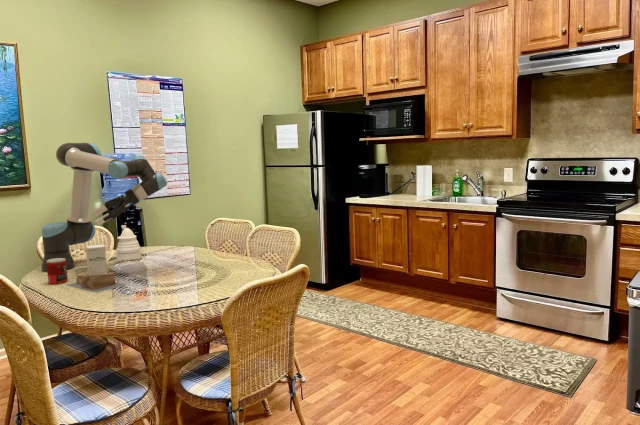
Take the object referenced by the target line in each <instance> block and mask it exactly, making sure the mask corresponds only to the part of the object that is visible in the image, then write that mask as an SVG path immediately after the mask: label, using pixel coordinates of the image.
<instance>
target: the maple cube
mask: <svg viewBox="0 0 640 425" xmlns="http://www.w3.org/2000/svg"><path fill="white" fill-rule="evenodd" d="M84 274H88V272H87V273H86V272H83V273H78V274H75V278H76V280H75V281H76V282H77V284H81V279H80V275H84Z"/></svg>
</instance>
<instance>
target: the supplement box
mask: <svg viewBox="0 0 640 425" xmlns="http://www.w3.org/2000/svg"><path fill="white" fill-rule="evenodd" d="M85 250H86V253H85V254H86V264H87V273H88V274H89V277H91V276H99V275H107V272H108V267H107V252H106V245H105V244H92V245H85Z"/></svg>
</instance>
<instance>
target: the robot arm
mask: <svg viewBox="0 0 640 425" xmlns="http://www.w3.org/2000/svg"><path fill="white" fill-rule="evenodd" d="M55 155H56V156H55V157H56V159H57V162H59V163H60V164H61V165H62V166H65V167H69V168H70V169H71V170H72V171H73V178H72V179H73V180H72V191H71V192H72V193H71V205H70V206H71V207H70V215H69V216H68V217H67V218H66V221H57V222H51V223H47V224H45V225H43V226H42V229H41V237H42V245H43V246H42V247H43V258H42V263H41V266H40V267H41V272H47V263H46V262H47V260H49V259H54V258H65V259H66V267H67V271H68V270H71V269H74V268H75V267H76V266H75V265H76V263H75V261H74V258H73V256H72V255H71V251H70V246H73V245H79V244H84V243H87V242H90V241H92V239H94V237H95V235H96V227H95V224H94V223H93V221H92V219H91V217H90V216H89V215H90V214H89V213H90V204H91V202H90V201H91V191H92V177H93V173H94V172H95V171H96V172H100V173H103V174H108V175H110V176H111V177H112V178H115V179H116V178H117V179H122V178H130V177H131V178H132V177H138V178H139V179H140V180H141V182H139V183H136V184H135V185H134V186H132V188H129V189H127V190H126V191H124V194H121V195H119V196H117V197H114V198H111V199H109V200H107V201H105V202H104V204H103V205H101V206H100V207H98V208H96V209H95V210H93V211H91V213H92V215H93V216H94V217H95V218H96V217H98V216H100V215H101V214H104V213H105V212H106V211H107V210H110V209H111V208H113V209H112V210H111V211H109V212H107V213H105V214H104V215H103V216H101V217H99V218H98V219H96V220H94V222H95V223H96V225H97V226H99V227H100V226H101V225H103V224H105V223H106V222H108V221H110V220H112V219H116V218H118V217H119V216H120V215H121V214H123V213H124V211H126V210H127V209H129V208H131V206H135V205H137V204H139V203H140V201H142V202H143V201H144V200H145V199H147V198H149V197H150V196H152V195H154V194H155V193H158V191H161V190H162V189H163V188H165V187H166V186H167V185H168V182H167V180H166V178H165V176H164V175H163V174H162V172H160V171H159V172H156V171H155V170H154V169H153V166H152V165H151V164H150V162H149V161H148V160H147V159H146V158H145V156H144V155H137V156H134V157H132V158H131V160H120V159H115V158H111V157H107V156H102V151H101V149H100V148H99V147H98V146H97V145H96V144H94V143H90V142H89V143H88V142H66V143H63V144H61V145H60V146H58V148H57V150H56V152H55ZM130 204H131V205H130Z"/></svg>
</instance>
